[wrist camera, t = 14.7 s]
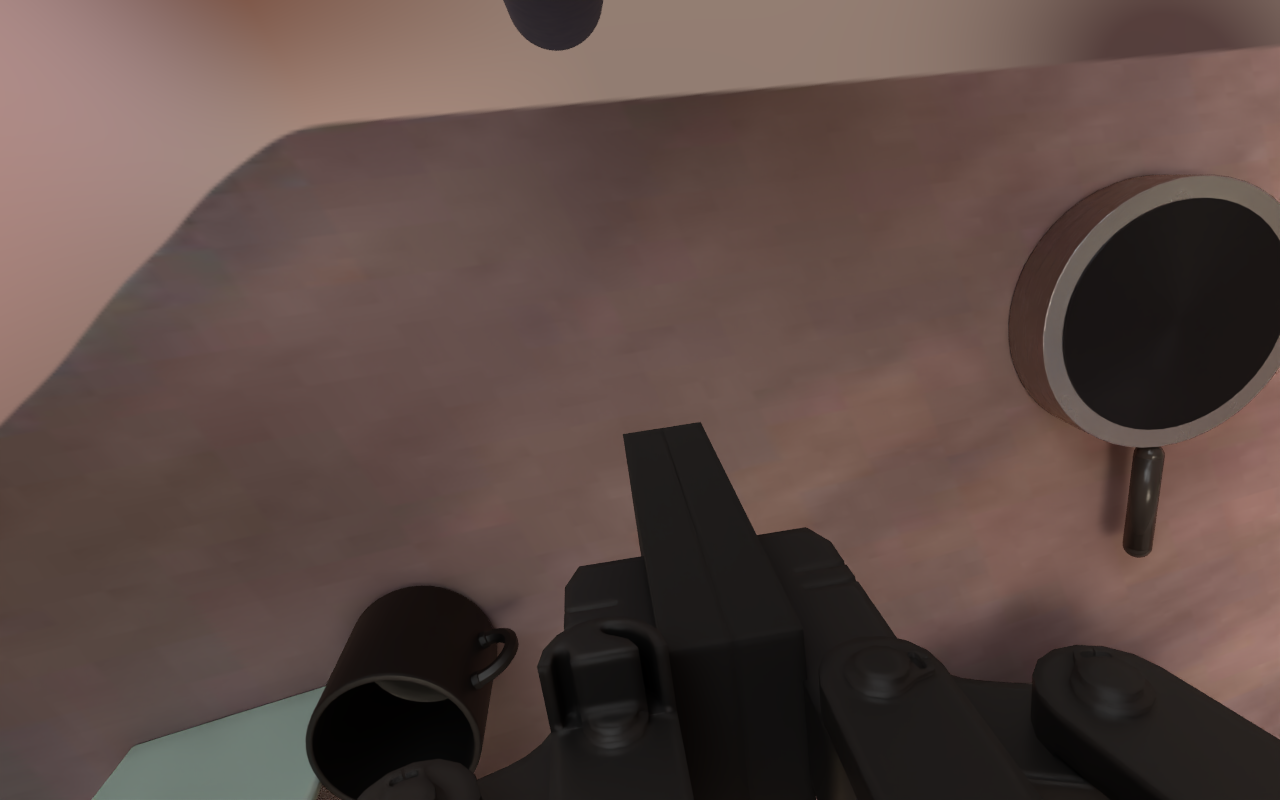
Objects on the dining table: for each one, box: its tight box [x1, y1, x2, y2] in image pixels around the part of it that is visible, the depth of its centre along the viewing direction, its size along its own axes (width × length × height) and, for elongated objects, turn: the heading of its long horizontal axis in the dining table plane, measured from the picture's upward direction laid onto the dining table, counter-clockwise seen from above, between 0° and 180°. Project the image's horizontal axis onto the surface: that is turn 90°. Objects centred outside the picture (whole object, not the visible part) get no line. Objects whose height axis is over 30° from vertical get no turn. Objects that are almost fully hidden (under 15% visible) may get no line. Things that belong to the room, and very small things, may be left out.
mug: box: [305, 586, 518, 800], centre depth 44 cm, size 9×12×9 cm
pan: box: [1009, 175, 1280, 558], centre depth 45 cm, size 24×16×4 cm, turn 6°
